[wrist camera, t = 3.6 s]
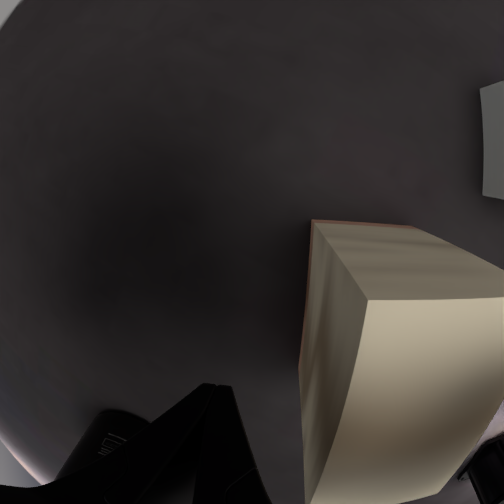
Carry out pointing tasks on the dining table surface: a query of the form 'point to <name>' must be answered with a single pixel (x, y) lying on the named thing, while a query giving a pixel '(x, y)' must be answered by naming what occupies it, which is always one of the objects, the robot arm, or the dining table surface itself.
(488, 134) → the grey block
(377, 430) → the birch block
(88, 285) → the dining table surface
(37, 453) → the dining table surface
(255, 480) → the robot arm
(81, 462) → the supplement bottle
